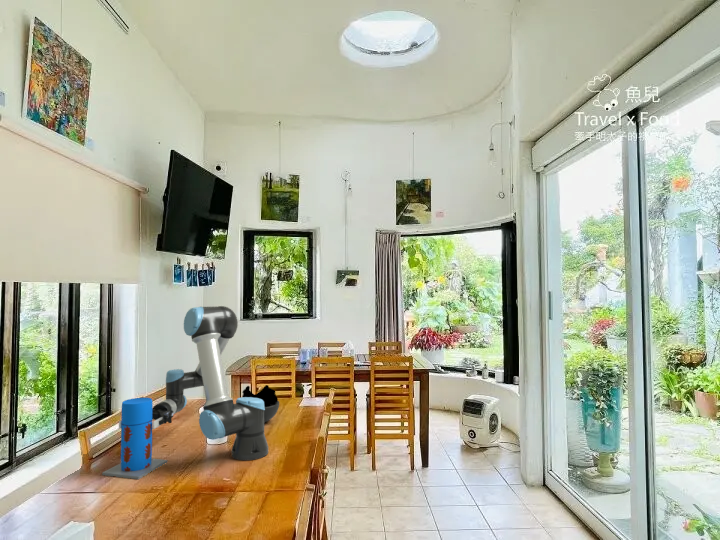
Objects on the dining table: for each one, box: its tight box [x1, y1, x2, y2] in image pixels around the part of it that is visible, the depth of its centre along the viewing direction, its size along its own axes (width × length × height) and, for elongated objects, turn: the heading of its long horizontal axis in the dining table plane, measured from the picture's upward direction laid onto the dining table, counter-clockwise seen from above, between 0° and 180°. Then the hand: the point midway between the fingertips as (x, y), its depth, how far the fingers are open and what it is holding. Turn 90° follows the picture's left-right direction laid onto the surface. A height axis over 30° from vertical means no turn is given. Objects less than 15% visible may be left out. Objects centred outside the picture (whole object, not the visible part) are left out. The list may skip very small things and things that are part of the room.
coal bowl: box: [242, 384, 280, 423], centre depth 228 cm, size 20×20×19 cm
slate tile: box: [101, 458, 169, 480], centre depth 169 cm, size 16×16×1 cm
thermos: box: [120, 397, 153, 471], centre depth 170 cm, size 11×11×25 cm
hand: (136, 425), depth 170 cm, fingers open, 13 cm apart
